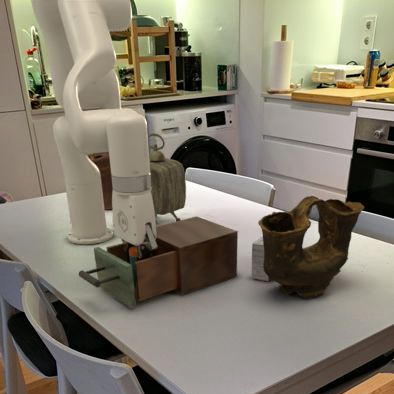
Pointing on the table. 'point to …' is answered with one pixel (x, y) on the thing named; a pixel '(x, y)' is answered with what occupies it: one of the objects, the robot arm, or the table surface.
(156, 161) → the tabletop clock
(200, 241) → the cabinet
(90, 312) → the table surface
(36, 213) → the table surface
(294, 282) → the pottery vessel
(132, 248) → the glue stick
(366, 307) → the table surface
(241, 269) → the table surface
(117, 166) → the robot arm
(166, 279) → the drawer
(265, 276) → the medicine box
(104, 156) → the reddish brown pot
